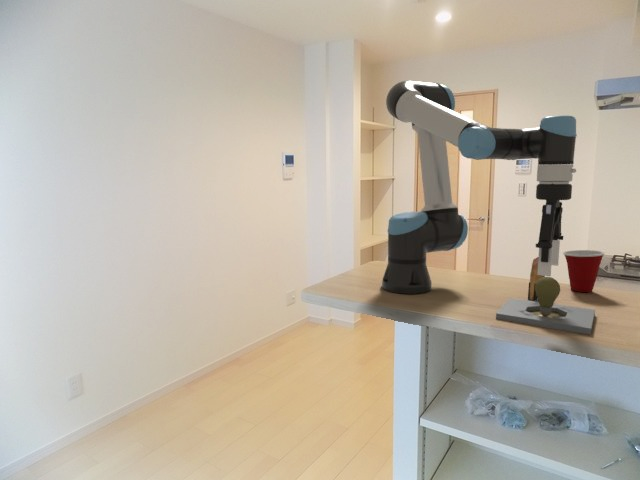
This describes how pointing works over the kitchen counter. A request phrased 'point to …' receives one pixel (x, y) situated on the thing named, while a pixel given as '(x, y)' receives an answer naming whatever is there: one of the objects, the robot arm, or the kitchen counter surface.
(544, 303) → the light bulb
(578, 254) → the plastic cup
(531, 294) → the ammunition clip
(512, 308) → the socket plate
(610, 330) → the kitchen counter surface
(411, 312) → the kitchen counter surface
